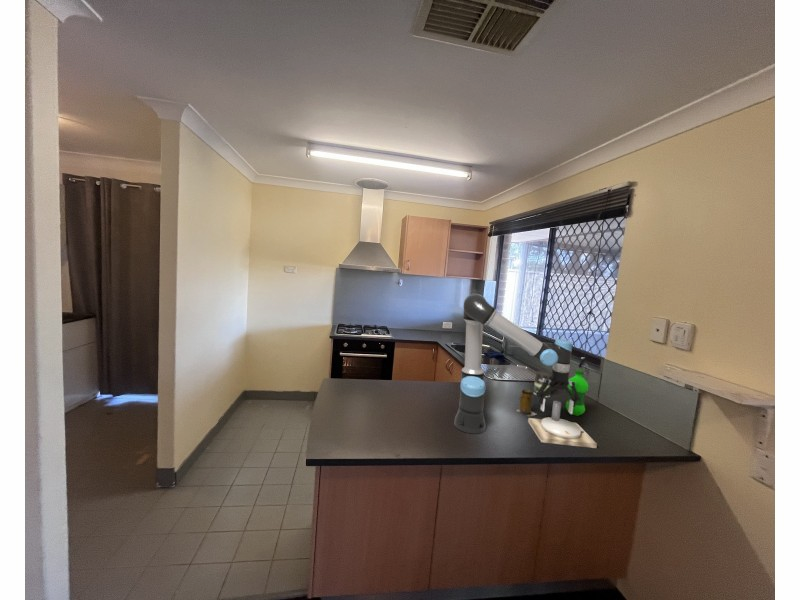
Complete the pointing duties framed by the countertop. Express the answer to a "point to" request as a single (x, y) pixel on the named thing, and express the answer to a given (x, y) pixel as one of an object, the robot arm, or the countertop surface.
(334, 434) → the countertop surface
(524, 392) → the condiment
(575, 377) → the plastic bottle
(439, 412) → the countertop surface
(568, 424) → the dial
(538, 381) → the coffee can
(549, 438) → the dial panel
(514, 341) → the robot arm
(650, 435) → the countertop surface
